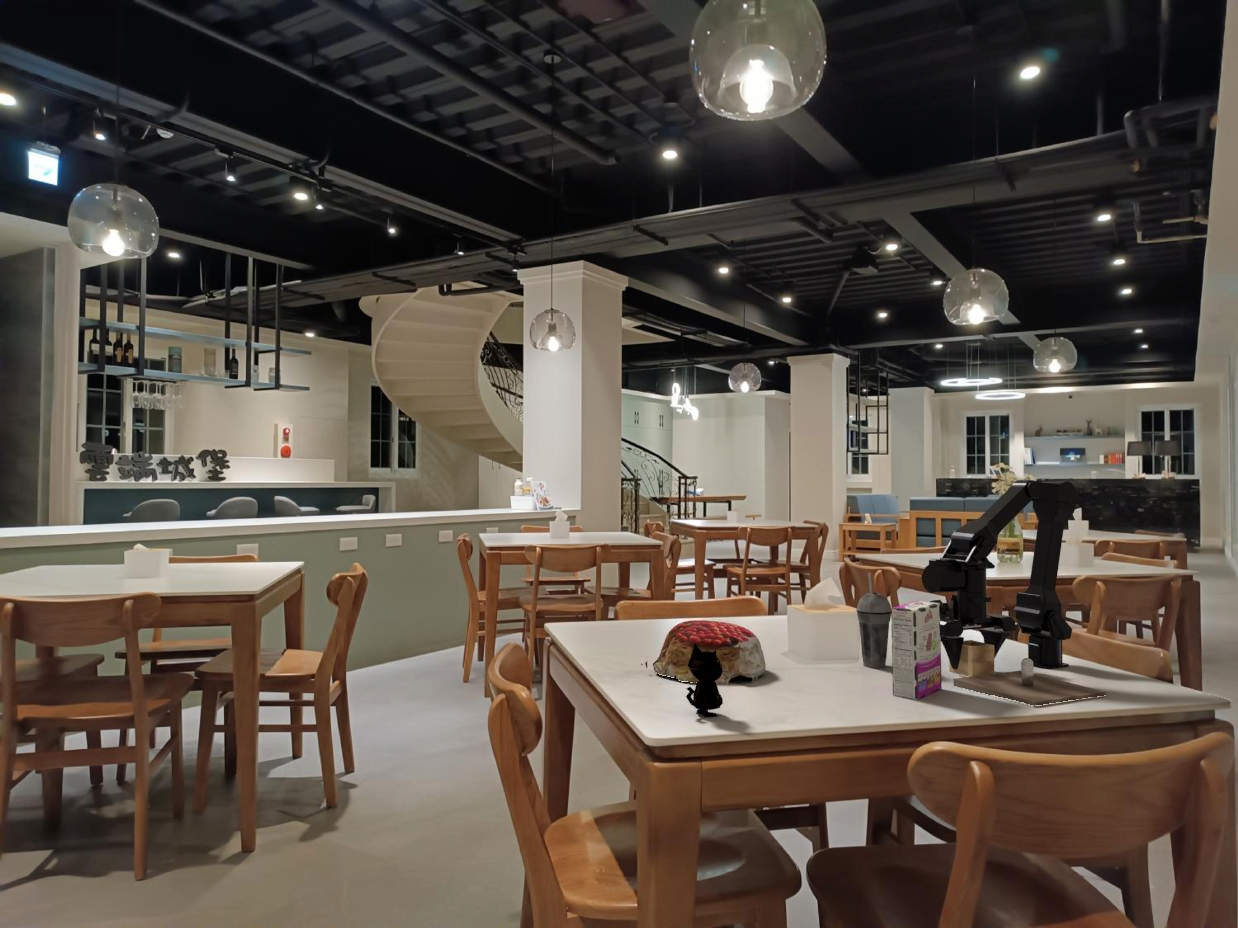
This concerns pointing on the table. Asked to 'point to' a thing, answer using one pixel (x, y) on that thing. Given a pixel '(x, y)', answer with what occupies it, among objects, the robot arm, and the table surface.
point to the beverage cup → (874, 627)
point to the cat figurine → (705, 681)
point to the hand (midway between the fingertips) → (971, 666)
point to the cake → (711, 650)
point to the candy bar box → (916, 649)
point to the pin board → (1027, 686)
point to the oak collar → (975, 659)
